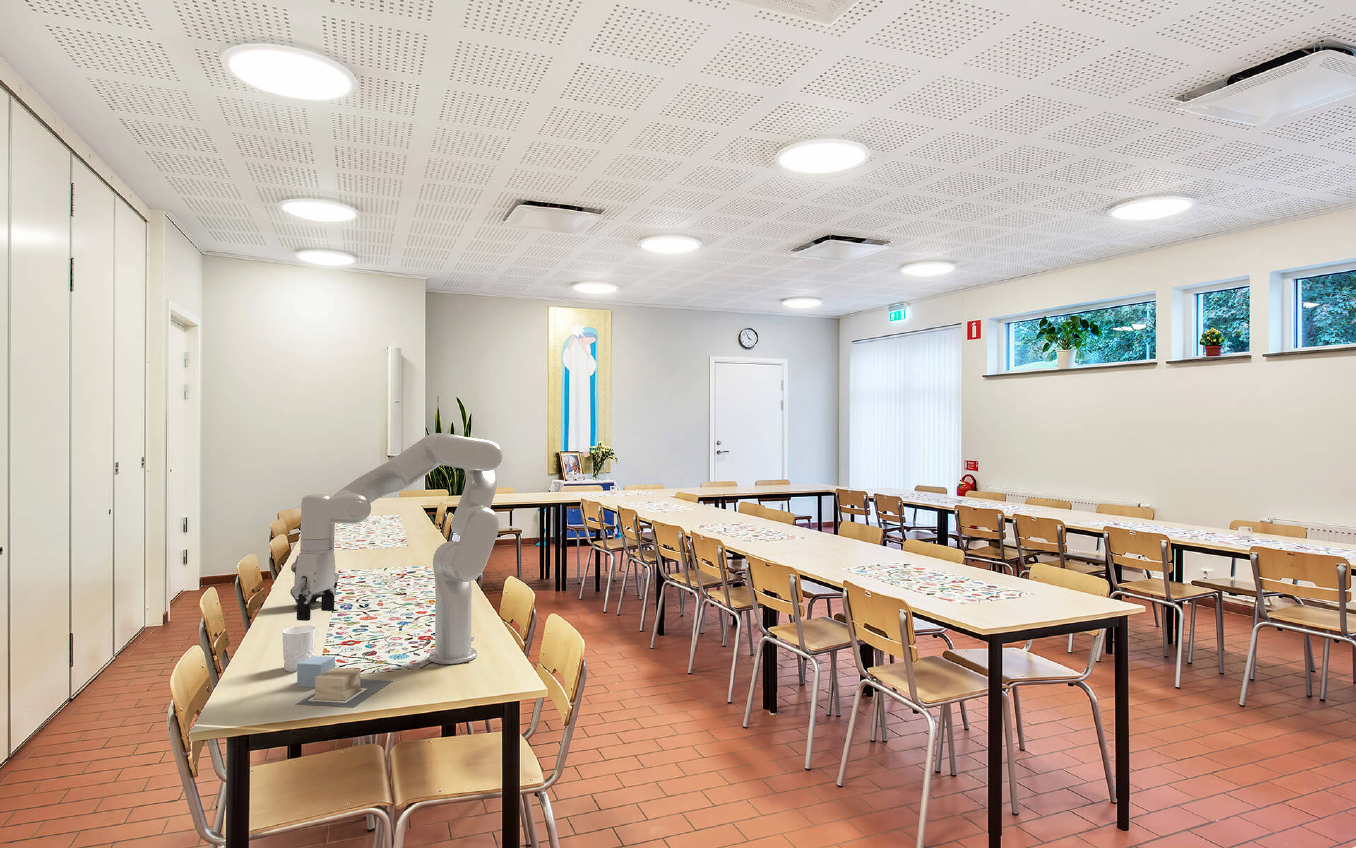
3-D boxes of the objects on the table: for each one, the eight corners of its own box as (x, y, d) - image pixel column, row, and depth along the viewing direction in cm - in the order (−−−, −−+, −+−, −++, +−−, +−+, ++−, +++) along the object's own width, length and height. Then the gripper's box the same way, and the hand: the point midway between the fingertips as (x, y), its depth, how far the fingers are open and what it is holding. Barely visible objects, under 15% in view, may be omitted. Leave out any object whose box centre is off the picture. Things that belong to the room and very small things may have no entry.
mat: (340, 679, 188) (340, 677, 188) (393, 682, 186) (394, 680, 186) (295, 706, 170) (295, 704, 170) (353, 709, 168) (353, 707, 168)
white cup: (307, 661, 202) (307, 624, 202) (321, 667, 197) (321, 629, 197) (276, 668, 196) (276, 630, 196) (290, 675, 191) (290, 635, 191)
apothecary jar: (323, 601, 272) (323, 551, 272) (332, 607, 262) (333, 555, 263) (286, 606, 264) (286, 554, 264) (294, 612, 255) (295, 559, 255)
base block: (332, 688, 180) (332, 668, 180) (360, 690, 179) (360, 669, 179) (315, 699, 173) (315, 677, 173) (343, 701, 172) (343, 679, 172)
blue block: (312, 680, 188) (312, 656, 188) (334, 681, 187) (334, 657, 187) (297, 688, 182) (297, 663, 182) (320, 689, 181) (320, 664, 181)
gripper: (324, 539, 193) (322, 606, 193) (280, 550, 176) (278, 623, 176) (351, 540, 193) (350, 608, 192) (310, 551, 175) (308, 625, 175)
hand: (315, 615), depth 184 cm, fingers open, 9 cm apart
